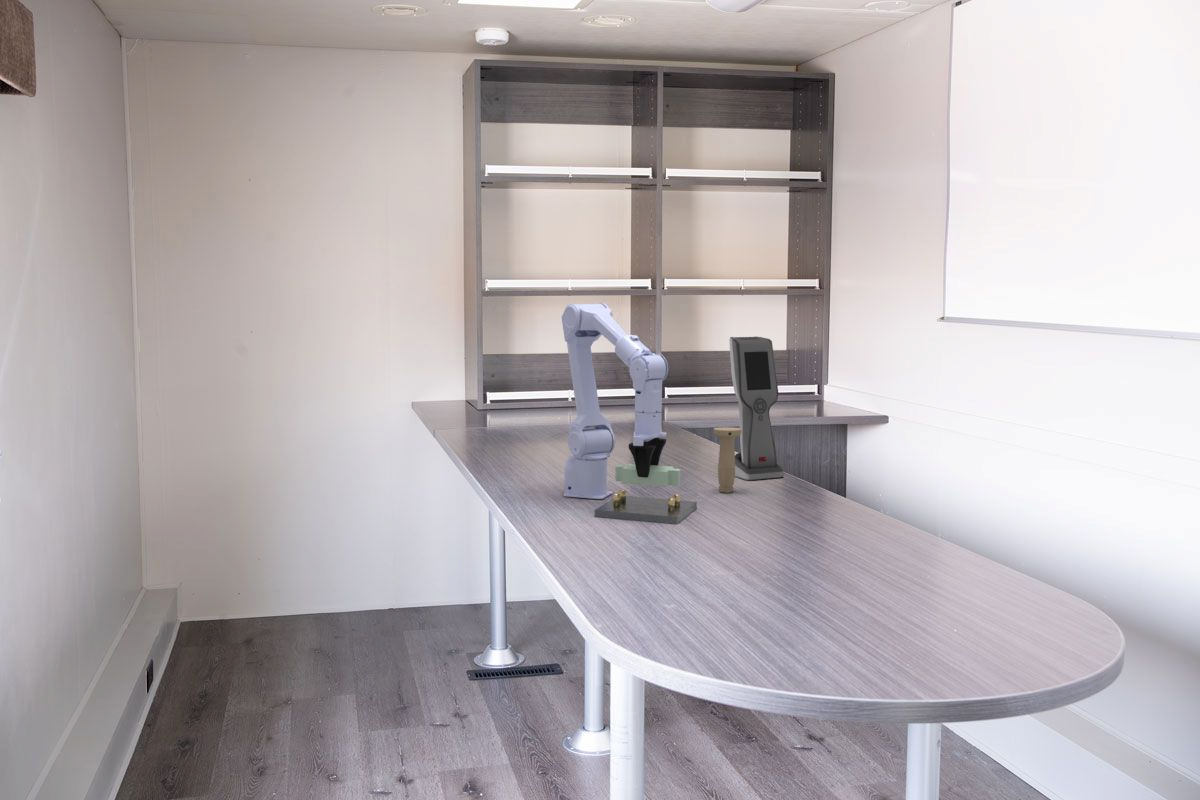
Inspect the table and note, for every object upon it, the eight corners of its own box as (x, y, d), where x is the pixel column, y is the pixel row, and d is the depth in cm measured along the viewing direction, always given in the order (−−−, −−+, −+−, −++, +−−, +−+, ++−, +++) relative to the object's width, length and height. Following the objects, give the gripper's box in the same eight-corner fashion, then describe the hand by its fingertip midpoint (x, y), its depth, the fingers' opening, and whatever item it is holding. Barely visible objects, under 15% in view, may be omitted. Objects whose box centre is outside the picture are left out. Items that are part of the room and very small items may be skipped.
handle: (741, 493, 256) (743, 430, 255) (714, 494, 256) (716, 430, 254) (736, 489, 261) (738, 427, 259) (710, 490, 260) (711, 427, 259)
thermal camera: (757, 469, 288) (761, 336, 284) (786, 477, 277) (791, 339, 273) (720, 472, 283) (723, 337, 279) (747, 481, 272) (751, 340, 267)
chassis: (594, 516, 231) (594, 498, 231) (618, 501, 246) (618, 484, 246) (677, 524, 225) (677, 505, 225) (696, 508, 240) (696, 490, 240)
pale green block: (612, 482, 235) (612, 468, 234) (621, 477, 240) (621, 462, 240) (675, 487, 230) (676, 472, 230) (682, 481, 235) (683, 467, 235)
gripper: (656, 416, 225) (655, 481, 227) (675, 408, 239) (674, 470, 240) (623, 414, 227) (623, 479, 229) (644, 406, 241) (643, 467, 243)
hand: (647, 474), depth 235 cm, fingers closed on pale green block, 6 cm apart
